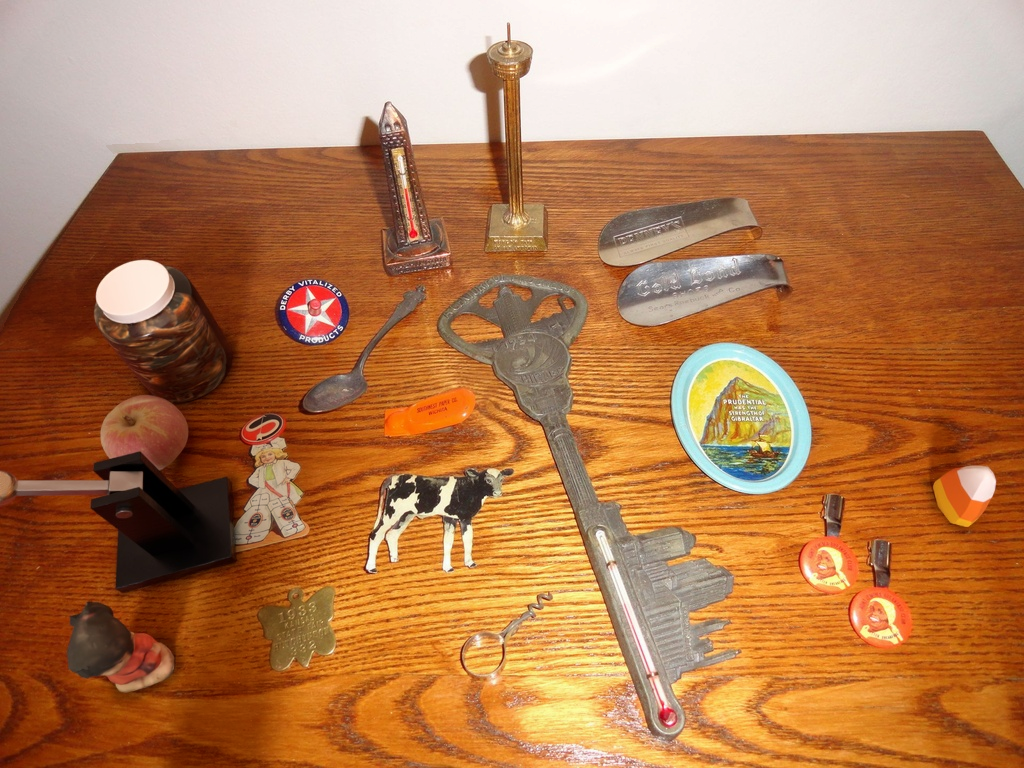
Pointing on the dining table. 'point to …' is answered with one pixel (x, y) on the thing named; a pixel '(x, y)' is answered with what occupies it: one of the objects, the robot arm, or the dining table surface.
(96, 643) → the figurine
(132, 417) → the apple
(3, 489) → the lever
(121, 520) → the bracket
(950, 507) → the candy corn
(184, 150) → the dining table surface
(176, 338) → the jar
